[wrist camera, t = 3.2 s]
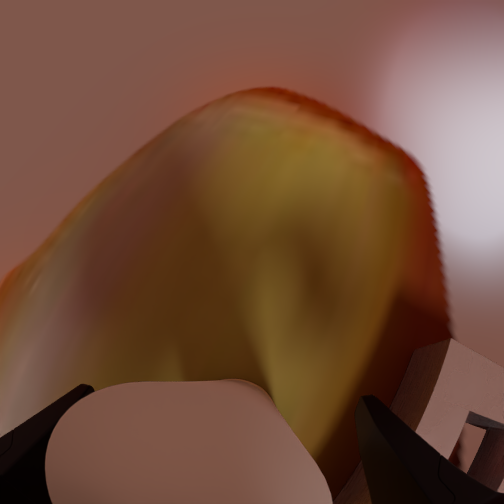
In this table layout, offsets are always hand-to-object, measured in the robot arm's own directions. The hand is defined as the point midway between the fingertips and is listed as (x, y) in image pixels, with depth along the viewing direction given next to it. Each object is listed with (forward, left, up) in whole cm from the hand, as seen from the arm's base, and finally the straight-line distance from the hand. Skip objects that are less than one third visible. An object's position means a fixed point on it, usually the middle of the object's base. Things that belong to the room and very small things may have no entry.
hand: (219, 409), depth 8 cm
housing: (+1, -15, -7) cm, 16 cm away
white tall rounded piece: (-1, -1, -7) cm, 7 cm away
